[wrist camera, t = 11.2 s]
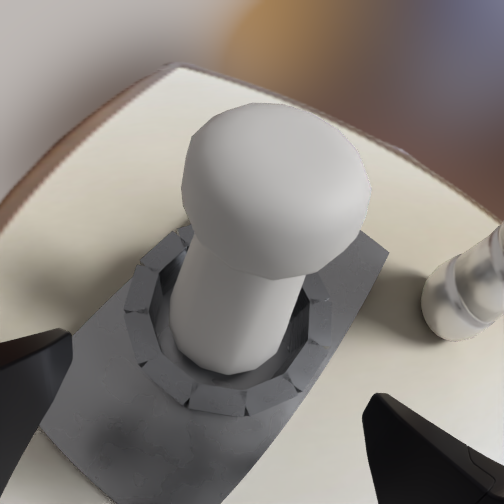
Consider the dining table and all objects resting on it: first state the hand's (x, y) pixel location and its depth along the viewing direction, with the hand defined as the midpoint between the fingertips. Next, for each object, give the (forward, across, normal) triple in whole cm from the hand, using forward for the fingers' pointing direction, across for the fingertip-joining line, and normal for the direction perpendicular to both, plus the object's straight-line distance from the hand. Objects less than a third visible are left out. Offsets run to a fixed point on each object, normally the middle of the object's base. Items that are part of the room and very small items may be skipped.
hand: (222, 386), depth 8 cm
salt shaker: (+9, 0, +3) cm, 9 cm away
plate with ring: (+10, 0, +4) cm, 11 cm away
